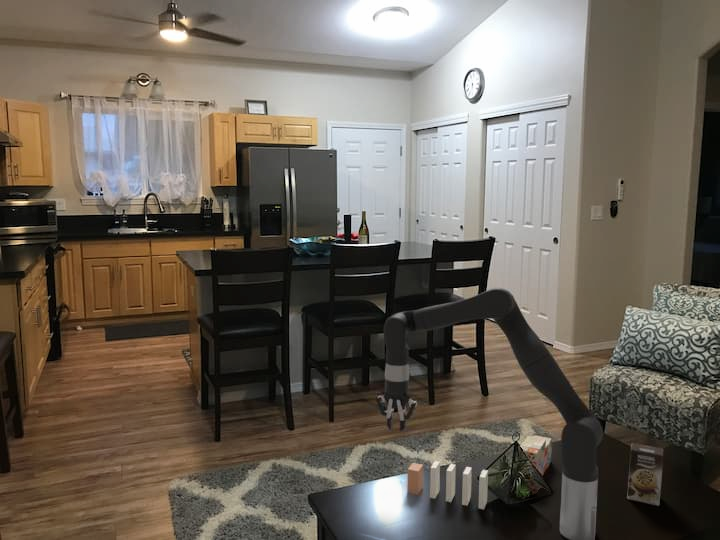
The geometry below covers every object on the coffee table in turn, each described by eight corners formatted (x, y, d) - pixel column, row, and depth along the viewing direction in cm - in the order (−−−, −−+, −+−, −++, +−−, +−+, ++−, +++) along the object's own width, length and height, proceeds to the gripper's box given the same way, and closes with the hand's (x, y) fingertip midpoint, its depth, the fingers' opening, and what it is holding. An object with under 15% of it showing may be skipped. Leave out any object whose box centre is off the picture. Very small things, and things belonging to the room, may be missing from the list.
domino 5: (487, 501, 178) (488, 470, 177) (483, 509, 174) (484, 477, 172) (481, 500, 179) (482, 469, 178) (478, 508, 174) (479, 476, 173)
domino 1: (422, 488, 186) (423, 464, 185) (417, 495, 182) (418, 471, 181) (412, 486, 188) (412, 462, 187) (407, 493, 183) (407, 469, 182)
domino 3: (454, 495, 182) (455, 464, 181) (450, 502, 178) (451, 471, 176) (449, 494, 183) (450, 463, 181) (445, 501, 178) (446, 470, 177)
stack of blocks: (533, 459, 207) (534, 426, 206) (551, 463, 204) (552, 430, 203) (516, 484, 189) (517, 448, 188) (535, 489, 186) (537, 452, 185)
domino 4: (470, 498, 180) (471, 467, 179) (467, 506, 176) (468, 474, 174) (465, 497, 181) (466, 466, 180) (461, 504, 176) (462, 473, 175)
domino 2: (439, 491, 184) (440, 461, 183) (435, 499, 179) (435, 468, 178) (434, 490, 185) (435, 460, 183) (430, 498, 180) (430, 467, 179)
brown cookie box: (626, 499, 180) (629, 449, 178) (628, 490, 186) (631, 441, 184) (659, 506, 176) (663, 455, 174) (660, 497, 181) (663, 447, 179)
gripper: (422, 376, 183) (421, 428, 186) (380, 371, 189) (379, 422, 191) (414, 383, 177) (413, 437, 179) (371, 377, 182) (371, 430, 184)
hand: (396, 429), depth 185 cm, fingers open, 3 cm apart
